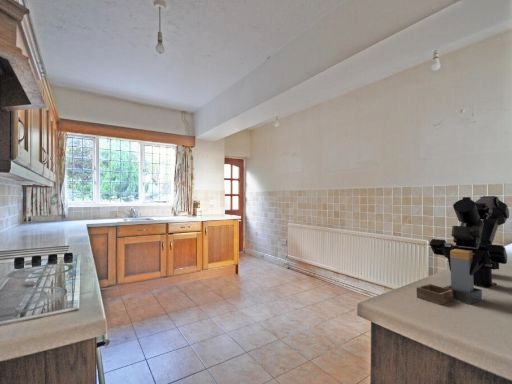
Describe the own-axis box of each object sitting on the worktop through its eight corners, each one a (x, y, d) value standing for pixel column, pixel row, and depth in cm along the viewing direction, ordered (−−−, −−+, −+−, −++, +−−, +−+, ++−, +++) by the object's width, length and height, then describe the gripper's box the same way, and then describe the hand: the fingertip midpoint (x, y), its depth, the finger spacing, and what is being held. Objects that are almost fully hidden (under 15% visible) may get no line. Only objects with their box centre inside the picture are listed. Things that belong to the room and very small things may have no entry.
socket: (456, 292, 86) (455, 283, 86) (482, 299, 80) (481, 289, 80) (444, 296, 83) (443, 287, 83) (470, 304, 77) (470, 294, 77)
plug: (456, 290, 85) (454, 248, 85) (473, 293, 81) (472, 250, 82) (451, 293, 82) (450, 250, 82) (469, 297, 79) (468, 253, 79)
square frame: (429, 293, 86) (429, 283, 86) (453, 300, 80) (453, 290, 80) (416, 297, 83) (416, 287, 83) (440, 304, 77) (440, 294, 77)
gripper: (430, 215, 92) (418, 251, 85) (503, 217, 77) (496, 262, 70) (439, 235, 97) (428, 272, 90) (510, 241, 82) (503, 286, 75)
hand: (460, 272), depth 81 cm, fingers closed on plug, 4 cm apart
